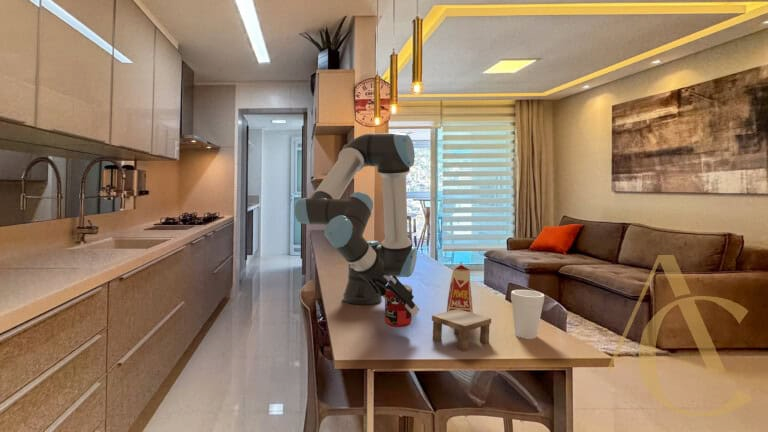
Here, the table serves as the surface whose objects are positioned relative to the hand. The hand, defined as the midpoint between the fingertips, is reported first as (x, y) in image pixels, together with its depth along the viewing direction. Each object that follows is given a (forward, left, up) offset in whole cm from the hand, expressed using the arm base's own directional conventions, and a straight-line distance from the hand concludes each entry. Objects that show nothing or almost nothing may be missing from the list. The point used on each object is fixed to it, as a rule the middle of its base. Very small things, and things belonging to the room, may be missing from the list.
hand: (406, 309), depth 126 cm
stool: (+15, +8, -7) cm, 18 cm away
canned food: (0, -3, -4) cm, 5 cm away
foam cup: (+24, +28, -7) cm, 37 cm away
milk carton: (0, +26, -7) cm, 27 cm away
